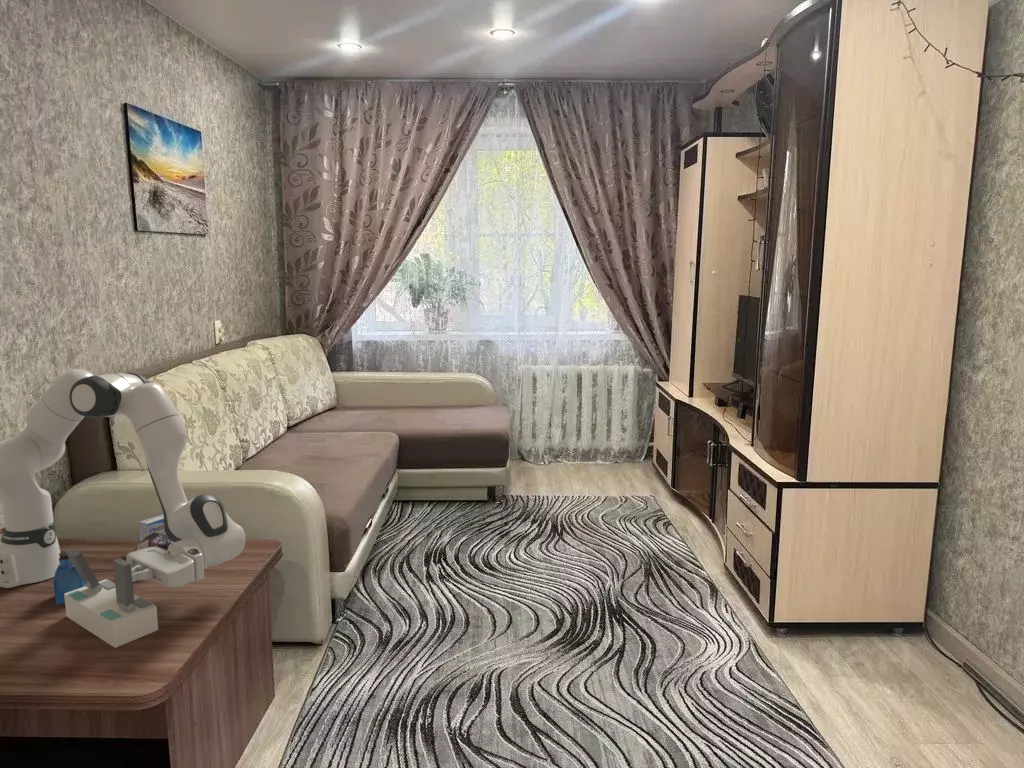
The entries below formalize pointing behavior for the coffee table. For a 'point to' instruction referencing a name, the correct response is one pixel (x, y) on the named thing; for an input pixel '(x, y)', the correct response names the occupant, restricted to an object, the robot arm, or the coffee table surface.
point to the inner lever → (83, 570)
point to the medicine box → (152, 526)
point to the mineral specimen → (154, 541)
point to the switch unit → (110, 614)
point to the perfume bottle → (65, 578)
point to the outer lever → (123, 584)
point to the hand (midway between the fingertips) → (126, 577)
